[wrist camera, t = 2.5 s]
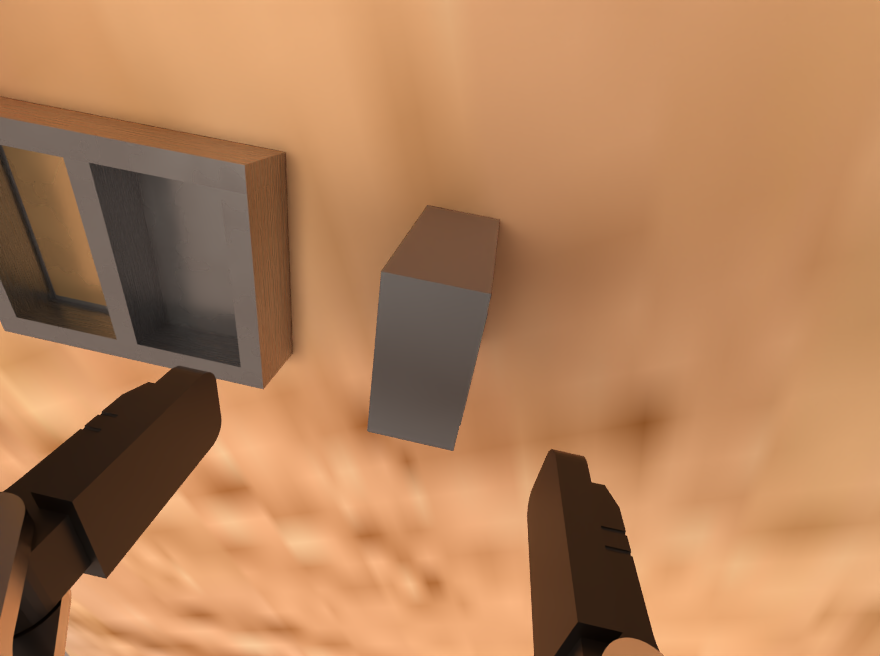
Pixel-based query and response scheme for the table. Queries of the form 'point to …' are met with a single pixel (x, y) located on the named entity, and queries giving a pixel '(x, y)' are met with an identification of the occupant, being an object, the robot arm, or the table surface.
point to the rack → (144, 242)
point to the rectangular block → (431, 326)
